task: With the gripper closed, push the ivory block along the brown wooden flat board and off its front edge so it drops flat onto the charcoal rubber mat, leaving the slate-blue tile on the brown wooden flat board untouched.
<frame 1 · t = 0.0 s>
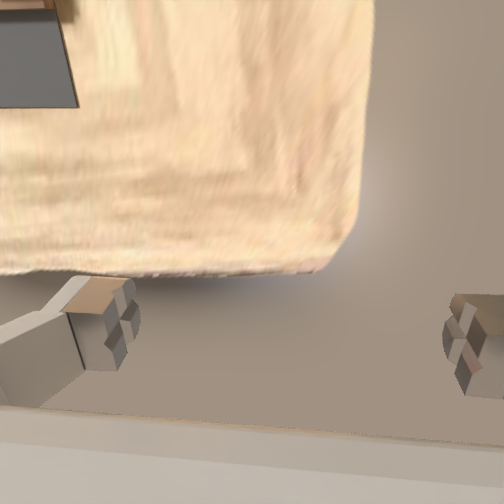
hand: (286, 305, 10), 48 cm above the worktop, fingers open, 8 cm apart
mat: (6, 61, 54), on the worktop
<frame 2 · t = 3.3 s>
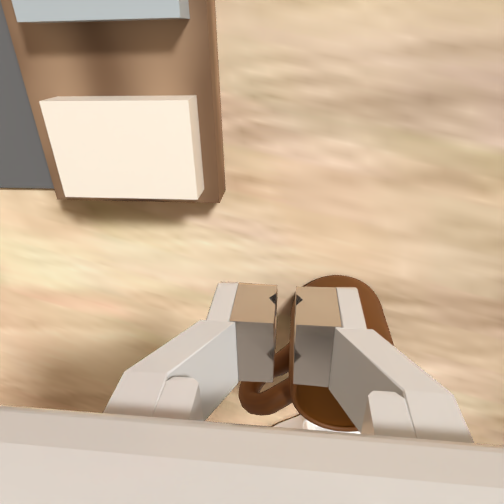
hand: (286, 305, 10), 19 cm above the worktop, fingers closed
ivory block: (133, 144, 25), point 2 cm above the worktop, touching brown wooden flat board
mug: (310, 313, 34), on the worktop
brown wooden flat board: (127, 58, 25), on the worktop
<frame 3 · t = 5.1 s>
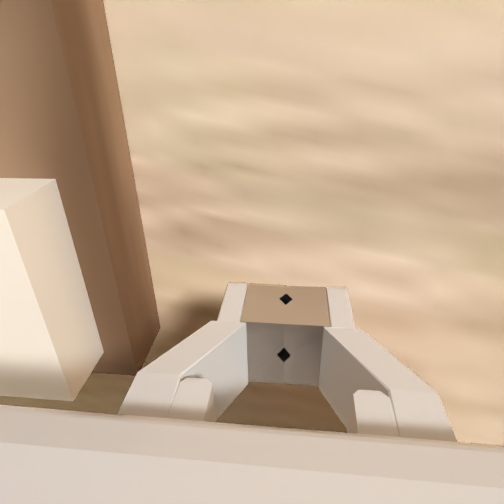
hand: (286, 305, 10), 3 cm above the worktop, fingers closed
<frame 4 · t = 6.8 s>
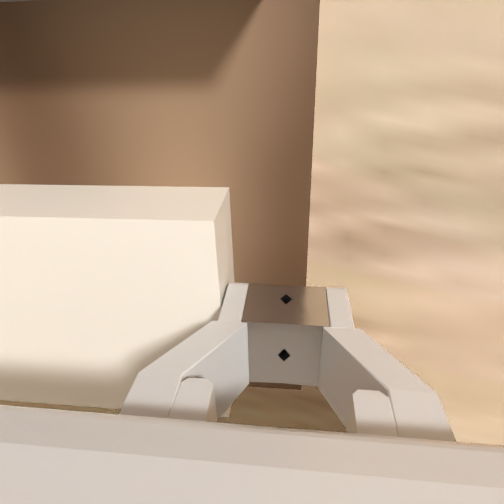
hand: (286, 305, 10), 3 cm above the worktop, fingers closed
ivory block: (84, 281, 11), point 2 cm above the worktop, touching brown wooden flat board, gripper
brown wooden flat board: (101, 89, 11), on the worktop
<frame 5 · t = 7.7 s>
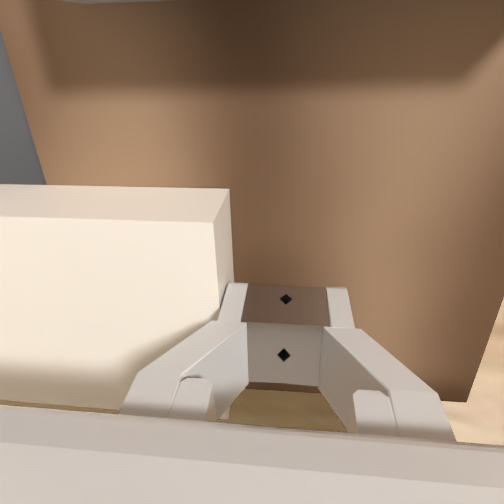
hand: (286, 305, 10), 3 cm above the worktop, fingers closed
ivory block: (84, 281, 11), point 3 cm above the worktop, touching brown wooden flat board, gripper
brown wooden flat board: (282, 90, 11), on the worktop
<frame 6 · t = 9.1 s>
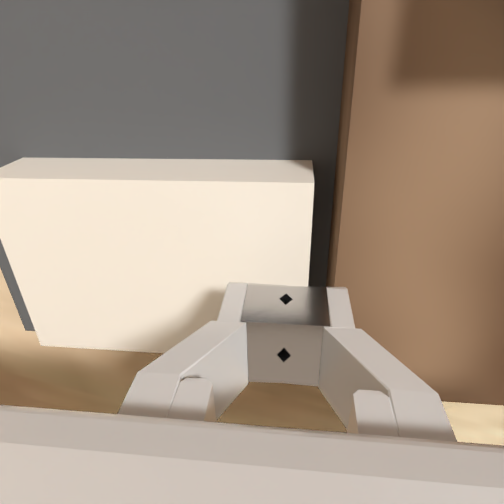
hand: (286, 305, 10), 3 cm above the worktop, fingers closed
ivory block: (173, 246, 13), resting on mat
mat: (129, 92, 11), on the worktop
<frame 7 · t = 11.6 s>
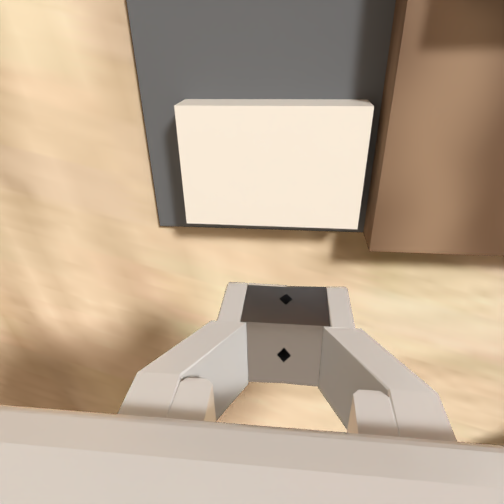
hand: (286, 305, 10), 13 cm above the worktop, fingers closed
ivory block: (273, 159, 21), resting on mat
mat: (258, 57, 18), on the worktop
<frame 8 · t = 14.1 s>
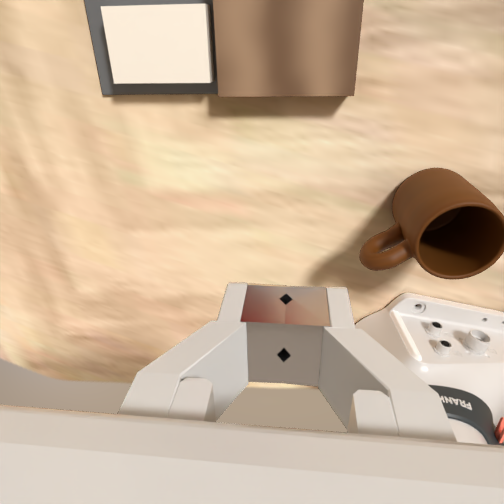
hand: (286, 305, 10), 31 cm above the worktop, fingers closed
ivory block: (164, 45, 35), resting on mat
mug: (406, 207, 41), on the worktop
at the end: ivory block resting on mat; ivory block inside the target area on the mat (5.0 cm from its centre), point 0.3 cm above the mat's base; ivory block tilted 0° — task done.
